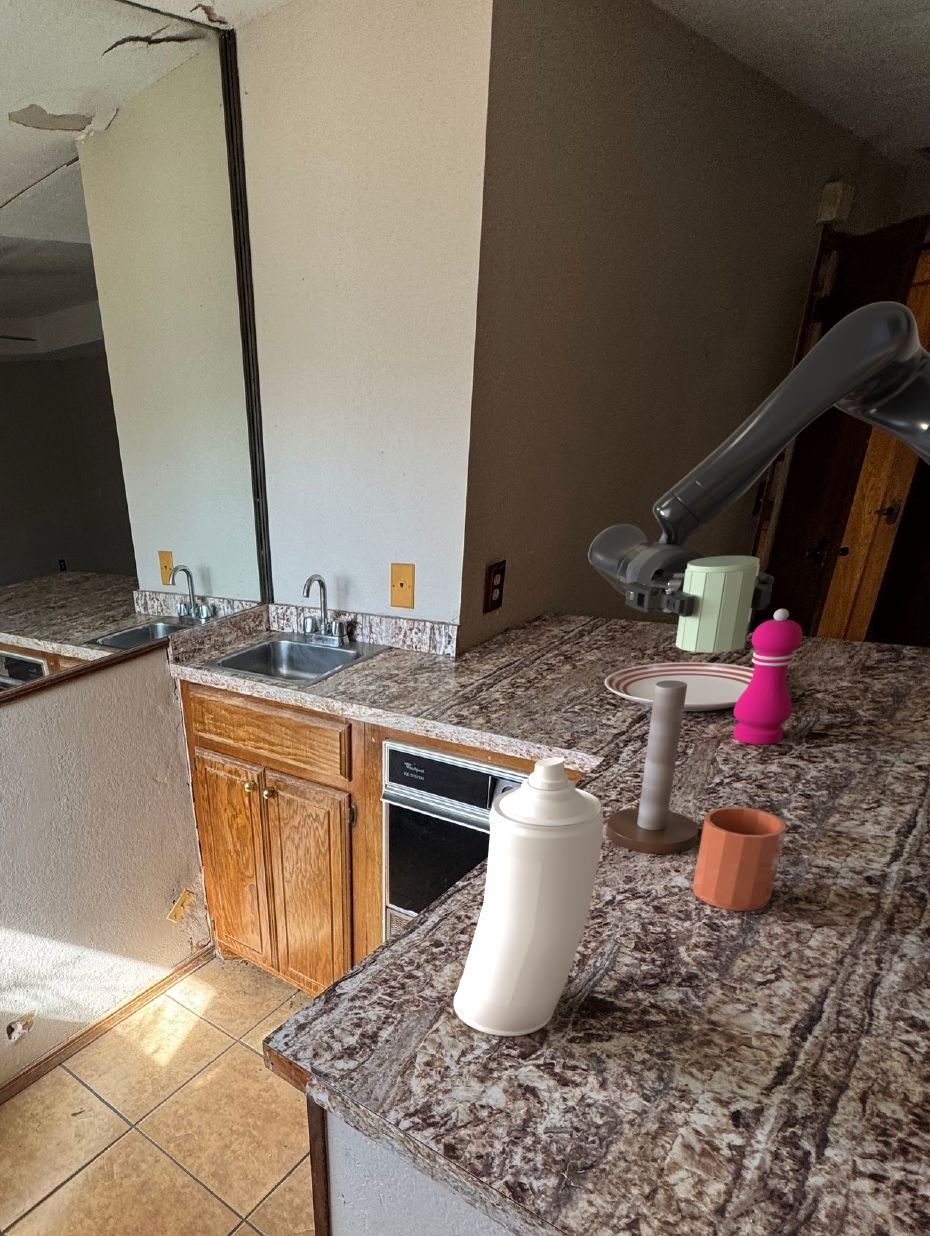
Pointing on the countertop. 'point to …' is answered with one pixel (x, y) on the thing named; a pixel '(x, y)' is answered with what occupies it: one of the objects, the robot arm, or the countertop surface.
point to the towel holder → (657, 784)
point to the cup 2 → (738, 858)
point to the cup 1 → (718, 603)
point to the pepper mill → (768, 682)
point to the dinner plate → (704, 682)
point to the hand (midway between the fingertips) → (726, 603)
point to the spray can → (531, 902)
